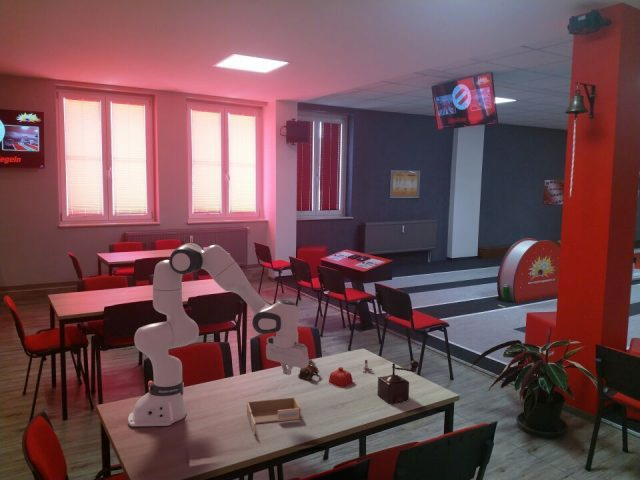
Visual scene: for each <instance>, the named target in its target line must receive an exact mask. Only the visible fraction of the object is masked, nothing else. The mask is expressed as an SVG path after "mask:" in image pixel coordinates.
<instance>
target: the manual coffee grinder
mask: <svg viewBox="0 0 640 480" xmlns="http://www.w3.org/2000/svg"><path fill="white" fill-rule="evenodd" d="M410 366H411V367H410V369H409V368H404V367H396V363H394V362H393V363H392V365H391V368H392V374H389V375H385V376H383V375H382V376H378V377H377V396H378V397H379V398H380V400H382V401H384V402H385V403H386V404H388V405H389V404H391V405H395V403H396V404H398V403H400V404H402V403H404V402H403V401H405V402H408V401H407V400H409V401H410V396H409V395H410V381H408V380H407V379H405V378H403V377H402V376H401V375H398V374H395V373H396V371H395V370H399V371H406V372H411V373H417V369H418V368H419V367H420V363H419V362H418V361H417V360H412V361H410Z"/></svg>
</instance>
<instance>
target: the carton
mask: <svg viewBox="0 0 640 480" xmlns="http://www.w3.org/2000/svg"><path fill="white" fill-rule="evenodd" d="M296 408H301V406H300V404H299V403H298V401H297V399H296V397H295V396H294V397H284V398H275V399H274V398H273V399H272V398H271V399H264V400H252V401H247V402H246V415H247V418H248V422H249V425H250V426H251V424H250V413H252V415H253V418H254V421H255V425H260V424H267V423H268V424H269V423H276V422H279V421H278V410H286V409H296ZM294 420H296V421H297V420H298V419H294ZM294 420H293V421H294ZM286 421H289V420H284V421H283V422H286Z"/></svg>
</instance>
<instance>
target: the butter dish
mask: <svg viewBox="0 0 640 480" xmlns="http://www.w3.org/2000/svg"><path fill="white" fill-rule="evenodd" d="M328 384H329V385H331V386H333V387H336V388H338V389H344V388H346V387H348V386H351V385H353V384H356V381H355V382H353V377H352V373H351V372H350V371H347V370H345V369H344V367H342V366H339V367H338V368H337V369H336V370H333V371H332V372H330V374H329V378H328Z"/></svg>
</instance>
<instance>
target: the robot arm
mask: <svg viewBox="0 0 640 480" xmlns="http://www.w3.org/2000/svg"><path fill="white" fill-rule="evenodd" d="M201 269H202V270H204V271H206V272H207V273H208V275H209V276H210V277H211V278H212V279H213V280H214V281H215V283H216V284H217V285H218V286H219V287H220V288H221V289H223V290H224V291H226V292H231V293H234V294H237V295H238V296H239V297H240V298H241V299H242V300H243V301H244V302H245V303H246V304H247V305H248V307H249V308H250V309H251V310H252V311H253V315H254V316H253V317H252V321H251V322H252V324H251V325H252V328H253V329H254V331H256V332H257V333H258V334H260V335H267V334H275V335H272V336H269V337H267V338H266V343H267V344H266V346H265V347H266V348H265V349H266V350H265V355H266V359H267V360H270V361H274V362H277V363H280V366H281V368H282V369H281V370H282V374H283V375H288V376H290V375H291V374H292V370H293V369H294V368H295V367H296V368H300V369H301V368H305V367H307V366H308V365H310V363H309V360H310V359H309V353H308V347H307V346H306V345H305V344H303V343H299V331H298V325H299V313H298V311H299V310H298V306H297V305H296V303H295V302H293V301H291V300H288V299H280V300H278V301H276V303H274V304H272V303H270V302H269V301H267V300H265V299H264V298H263V297H262V296H261V295H260V293H259V292H258V291H257V290H256V289H255V287H253V285H252V284H251V283H250V281H249V280H248V278H247V276H246V275H245V273H244V272H243V270H242V269H241V267H240V265H239V264H238V262H236V261H235V259H234V258H233V257H232V256H231V254H230V253H229V252H227V250H225V249H224V248H223V247H222V246H220V245H219V244H212V245H209V246H207V247H205V248H204V247H203V245H201V244H200V243H197V242H187V243H184V244H182V245H179V246H178V247H176V248H175V249H174V250H173V251H172V252H171V254H170V256H169V258H168V259H165V260H161V261H159V262H157V264H156V265H155V267H154V273H153V280H152V307H153V308H154V310H155V311H156V312H158V313H160V314H162V315H165V316H166V321H161V322H154V323H149V324H146V325H142V326H141V327H138V329H136V331H135V333H134V338H133V340H134V341H133V342H134V345H135V348H137V350H138V351H139V352H141V353H143V354H144V355H145V356H147V357H148V359H149V360H150V362H151V365H152V372H153V380H149V381H148V383H147V386H148V388H147V389H148V392H147V393H145V394H144V395H143V396H141V397H140V398H139V399H138V400H137V401H136V403H135V405H134V409H133V410H132V411H131V412H130V413H129V415H128V418H127V424H128V425H129V426H131V427H166V426H167V427H168V426H171V425H173V424H174V423H175V422H179V421H181V420H183V419H184V418H185V417H186V416H187V413H188V412H187V410H186V407H185V406H186V405H185V401H184V400H185V399H184V392H185V389H184V386H185V385H184V384H185V383H184V379H183V364H182V361H181V359H179V358H178V357H176V356H174V355H170V354H169V350H171V349H175V348H182V347H186V346H188V345H191V344H193V343H195V342H196V341H197V340H198V338H199V334H200V329H199V326H198V324H197V322H196V321H195V320H194V319H192V318H191V317H189V315H188V314H187V313H186V311H185V308H184V306H183V305H184V304H183V286H182V284H183V283H182V282H183V275H189V274H192V273H194V272H196V271H200V270H201Z"/></svg>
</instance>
